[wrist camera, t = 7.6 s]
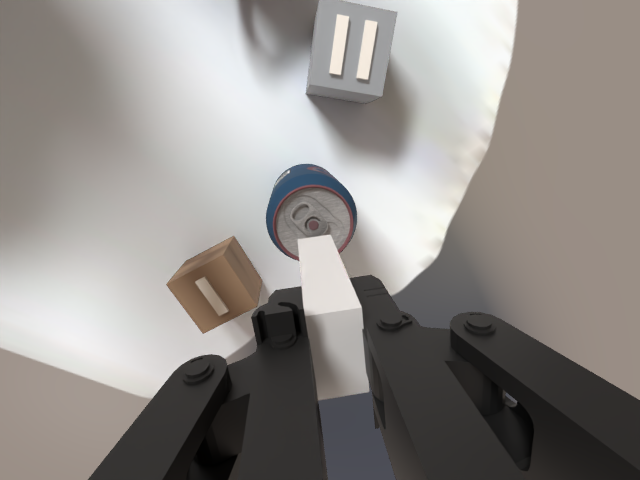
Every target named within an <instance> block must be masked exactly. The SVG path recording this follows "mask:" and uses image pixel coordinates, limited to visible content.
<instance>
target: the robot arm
mask: <svg viewBox="0 0 640 480" xmlns="http://www.w3.org/2000/svg"><path fill="white" fill-rule="evenodd" d="M298 251H299V262H300V274H301V285H302V286H301V287H294V288H288V289H281V290H275V291H274V293H273V294H272V295H271V296H270V297H269V302H268V303H267V304H265V305H263V306H260V307H259V308H258V309H257V310H256V311H254V313H253V315H252V317H251V318H252V323H253V327H254V332H255V337H256V341H257V350H256V352H255V353H253V354H252V355H250V356H249V357H247V358H244V359H242V360H240V361H237V362H235V363H232V364H230V365H227V363H226V360H225V359H224V358H223V357H221V356H219V355H212V354H211V355H203V356H199V357H197V358H193V359H191V360H189V361H187V362H186V363H184V364H182V365H181V366H180V367H179V368H178V369H177V370H176V371H174V372H173V374H172V375H171V376H170V377H169V379H168V380H167V381H166V382H165V384H164V385H163V386H162V387H161V389H160V390H159V391H158V392H157V394H156V395H155V396H154V397H153V399H152V400H151V401H150V402H149V404H148V405H147V406H146V407H145V409H144V410H143V411H142V412H141V414H140V415H139V416H138V418H137V419H136V420H135V421H134V422H133V424H132V425H131V426H130V428H129V429H128V430H127V431H126V432H125V434H124V435H123V436H122V438H121V439H120V440H119V441H118V443H117V444H116V445H115V447H114V448H113V449H112V450H111V451H110V453H109V454H108V455H107V456H106V458H105V459H104V460H103V461H102V463H101V464H100V465H99V466H98V468H97V469H96V470H95V471H94V473H93V474H92V475H91V477H90V478H89V479H88V480H328V477H327V469H326V461H325V453H324V444H323V434H322V426H321V418H320V411H319V404H318V400H324V399H330V398H336V397H342V396H348V395H354V394H360V393H365V392H369V383H370V386H371V389H372V396H373V408H374V419H375V428H379V426H380V430H381V433H382V436H383V439H384V442H385V446H386V449H387V452H388V455H389V459H390V461H391V465H392V468H393V471H394V475H395V478H396V480H640V400H638V399H637V398H635V397H633V396H631V395H630V394H628V393H626V392H625V391H623V390H621V389H620V388H618V387H616V386H614V385H613V384H611V383H609V382H607V381H606V380H604V379H602V378H601V377H599V376H597V375H596V374H594V373H592V372H590V371H589V370H587V369H585V368H584V367H582V366H580V365H578V364H577V363H575V362H573V361H571V360H570V359H568V358H566V357H565V356H563V355H561V354H560V353H558V352H556V351H554V350H553V349H551V348H549V347H547V346H546V345H544V344H542V343H541V342H539V341H537V340H536V339H534V338H532V337H530V336H529V335H527V334H525V333H524V332H522V331H520V330H518V329H517V328H515V327H513V326H512V325H510V324H508V323H506V322H505V321H503V320H501V319H499V318H497V317H495V316H492V315H489V314H485V313H481V312H467V313H461V314H458V315H457V316H455V317H453V319H452V320H451V322H450V329H440V328H427V327H422V326H420V325H419V323H418V322H417V321H416V319H415V318H414V317H412V316H411V315H409V314H407V313H405V312H402V311H400V310H399V309H398V307H397V306H396V304H395V302H394V301H393V300H392V298H391V296H390V295H389V294H388V291H387V290H386V288H385V287H384V285H383V284H382V282H381V280H379V279H377V278H376V277H374V276H372V275H367V276H361V277H354V278H349V276H348V274H347V272H346V269H345V267H344V265H343V262H342V260H341V258H340V255H339V253H338V251H337V248H336V246H335V244H334V241H333V239H332V237H331V235H324V236H317V237H310V238H303V239H298ZM368 380H369V382H368ZM506 392H507V393H508V394H509V395H510V396H512V397H513V398H514V399H515V400H517V403H514V402H513V401H511V400H510V399H509V398H508V397H506V396H505V394H506Z"/></svg>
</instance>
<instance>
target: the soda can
mask: <svg viewBox="0 0 640 480" xmlns="http://www.w3.org/2000/svg"><path fill="white" fill-rule="evenodd" d="M266 224H267V230H268V233H269V235H270V238H271V240H272V241H273V243H274V244H275V245H276V247H277V248H278V249H279V250H280V251H281V252H283V253H284V254H285V255H287V256H288V257H290V258H292V259H295V260H298V261H299V251H298V239H303V238H310V237H317V236H324V235H331V237H332V239H333V241H334V244H335V246H336V248H337V251H338V253H340V252H342V251H343V249H344V248H345V247H346V246H347V245H348V243H349V242H350V240H351V239H352V237H353V235H354V232H355V229H356V224H357V211H356V206H355V203H354V200H353V198H352V196H351V195H350V193H349V192H348V190H347V189H346V188H345V187H344V186H343V185H342V184H341V183H340V182H339V181H338V180H337V179H335V178H334V177H333V176H332V175H331V174H330V173H329V172H328V171H326V170H325V169H323V168H322V167H319V166H317V165H313V164H300V165H296V166H293V167H291V168H289V169H288V170H286V171H285V172H284V173H282V174H281V176H280V177H279V178H278V180H277V181H276V183H275V185H274V188H273V191H272V194H271V198H270V201H269V204H268V208H267V213H266Z"/></svg>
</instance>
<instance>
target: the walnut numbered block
mask: <svg viewBox="0 0 640 480" xmlns="http://www.w3.org/2000/svg"><path fill="white" fill-rule="evenodd" d="M261 284H262V279H261V278H260V276H259V274H258V273H257V271H256V270H255V268H254V267H253V265H252V263H251V262H250V260H249V259H248V257H247V256H246V254H245V252H244V251H243V249H242V248H241V246H240V245H239V243H238V241H237V240H236V238H235V237H234V236H232V237H231V238H229V239H227V240H225V241H223V242H221V243H219V244H217V245H215V246H213V247H212V248H210V249H208V250H206V251H204V252H202V253H200V254H198V255H196V256H195V257H193V258H191V259H189V260H187V261H185V263H184V264H183V265H182V266H181V267H180V269H179V270H178V271H177V272H176V273H175V275H174V276H173V277H172V278H171V279H170V280H169V282H168V283H167V284H166V285H167V286H168V288H169V289H170V290H171V292H172V293H173V294H174V296H175V297H176V298H177V300H178V301H179V302H180V304H181V305H182V306H183V308H184V309H185V310H186V312H187V313H188V314H189V316H190V317H191V318H192V320H193V321H194V322H195V324H196V325H197V326H198V328H199V329H200V330H201V332H202V333H203V334H204V333H206V332H208V331H210V330H212V329H214V328H215V327H217V326H219V325H221V324H223V323H225V322H227V321H229V320H231V319H233V318H235V317H237V316H239V315H241V314H243V313H245V312H247V311H249V310H251V309H253V308H255V307H257V305H258V300H259V295H260V290H261Z"/></svg>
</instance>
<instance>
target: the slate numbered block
mask: <svg viewBox="0 0 640 480" xmlns="http://www.w3.org/2000/svg"><path fill="white" fill-rule="evenodd" d="M396 17H397V12H394V11H390V10H385V9H380V8H375V7H370V6H365V5H360V4H355V3H350V2H345V1H340V0H319V2H318V7H317V12H316V17H315V22H314V29H313V37H312V46H311V54H310V63H309V71H308V80H307V88H306V94H310V95H316V96H322V97H328V98H334V99H341V100H347V101H353V102H359V103H365V104H367V103H369V102H371V101H373V100H376V99H378V98H380V97H382V95H383V89H384V83H385V78H386V72H387V67H388V61H389V56H390V50H391V45H392V39H393V34H394V28H395V23H396Z"/></svg>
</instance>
